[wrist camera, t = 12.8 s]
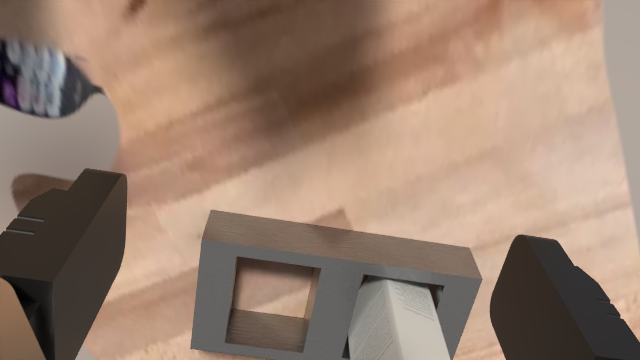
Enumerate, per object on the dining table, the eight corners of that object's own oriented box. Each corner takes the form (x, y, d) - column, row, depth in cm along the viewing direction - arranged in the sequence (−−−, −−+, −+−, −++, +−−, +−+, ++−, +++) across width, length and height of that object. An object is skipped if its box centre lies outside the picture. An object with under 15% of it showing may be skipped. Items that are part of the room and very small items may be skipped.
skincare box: (389, 327, 49) (410, 451, 39) (344, 308, 48) (352, 430, 38) (428, 273, 47) (462, 390, 36) (381, 253, 46) (402, 367, 35)
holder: (199, 314, 49) (190, 348, 45) (210, 209, 44) (201, 239, 41) (435, 345, 50) (444, 380, 47) (469, 247, 46) (482, 279, 42)
